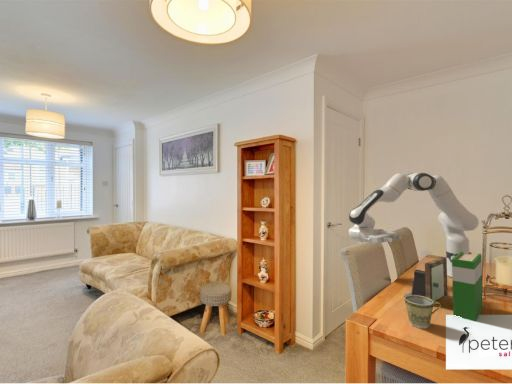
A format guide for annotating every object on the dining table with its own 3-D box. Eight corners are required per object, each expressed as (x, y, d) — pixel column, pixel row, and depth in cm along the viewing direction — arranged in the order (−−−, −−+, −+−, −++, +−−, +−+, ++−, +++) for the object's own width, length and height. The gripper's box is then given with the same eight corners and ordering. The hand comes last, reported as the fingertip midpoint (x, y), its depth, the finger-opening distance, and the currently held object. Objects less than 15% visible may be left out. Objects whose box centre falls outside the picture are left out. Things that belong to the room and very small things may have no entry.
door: (441, 294, 136) (440, 262, 136) (447, 296, 133) (447, 264, 133) (429, 302, 128) (428, 268, 128) (435, 304, 126) (434, 269, 125)
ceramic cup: (411, 330, 105) (410, 304, 104) (401, 318, 114) (400, 294, 114) (448, 332, 103) (447, 305, 102) (435, 319, 112) (434, 295, 112)
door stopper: (424, 298, 132) (423, 274, 132) (411, 295, 137) (410, 271, 137) (432, 294, 137) (432, 270, 137) (420, 290, 142) (419, 267, 142)
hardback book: (462, 302, 127) (460, 251, 127) (482, 307, 122) (481, 254, 122) (453, 315, 115) (451, 259, 115) (475, 321, 110) (474, 262, 110)
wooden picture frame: (442, 294, 138) (442, 256, 138) (447, 295, 136) (446, 257, 136) (425, 304, 127) (424, 263, 127) (430, 305, 125) (429, 264, 125)
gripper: (363, 233, 157) (386, 236, 146) (382, 228, 169) (405, 231, 157) (363, 244, 157) (387, 247, 146) (383, 239, 169) (406, 241, 157)
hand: (396, 239), depth 152 cm, fingers open, 8 cm apart
